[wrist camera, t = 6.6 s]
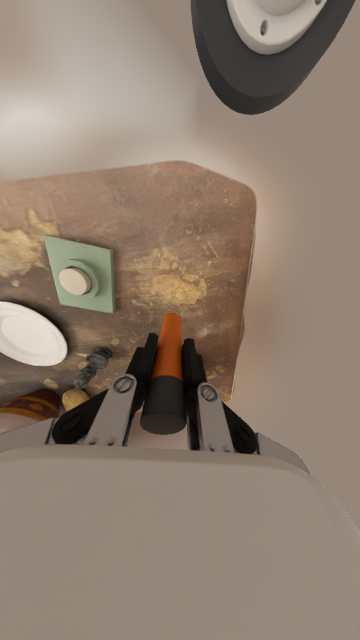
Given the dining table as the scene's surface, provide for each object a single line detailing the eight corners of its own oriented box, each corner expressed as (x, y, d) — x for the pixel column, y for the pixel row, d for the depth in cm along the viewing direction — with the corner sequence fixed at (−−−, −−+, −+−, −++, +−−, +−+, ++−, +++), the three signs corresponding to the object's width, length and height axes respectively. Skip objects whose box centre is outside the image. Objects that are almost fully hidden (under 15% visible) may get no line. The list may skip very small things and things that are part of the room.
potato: (81, 401, 50) (69, 420, 45) (66, 384, 45) (50, 402, 40) (97, 400, 50) (87, 418, 45) (84, 382, 45) (70, 400, 39)
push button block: (49, 235, 25) (34, 233, 22) (113, 249, 26) (106, 249, 23) (64, 302, 31) (54, 306, 28) (115, 311, 32) (109, 316, 30)
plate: (61, 306, 31) (55, 309, 30) (78, 365, 41) (74, 370, 39) (-34, 292, 29) (-47, 294, 28) (7, 357, 39) (-1, 362, 37)
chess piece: (114, 360, 40) (92, 398, 30) (95, 359, 40) (65, 397, 29) (111, 345, 37) (85, 382, 27) (91, 344, 37) (56, 381, 27)
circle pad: (63, 265, 25) (55, 265, 23) (90, 270, 25) (84, 271, 24) (68, 290, 27) (61, 292, 25) (93, 294, 28) (88, 297, 26)
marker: (164, 310, 15) (140, 410, 6) (182, 313, 16) (190, 414, 6) (162, 326, 16) (138, 433, 7) (179, 329, 17) (181, 436, 7)
